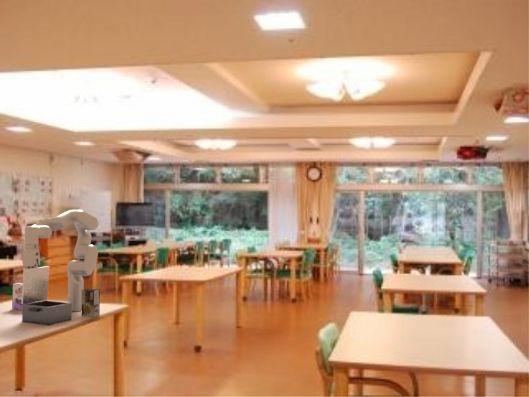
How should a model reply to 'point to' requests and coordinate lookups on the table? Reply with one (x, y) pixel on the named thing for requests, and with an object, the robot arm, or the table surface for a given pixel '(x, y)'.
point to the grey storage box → (46, 312)
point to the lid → (35, 284)
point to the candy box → (17, 296)
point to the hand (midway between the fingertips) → (30, 278)
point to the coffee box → (91, 302)
